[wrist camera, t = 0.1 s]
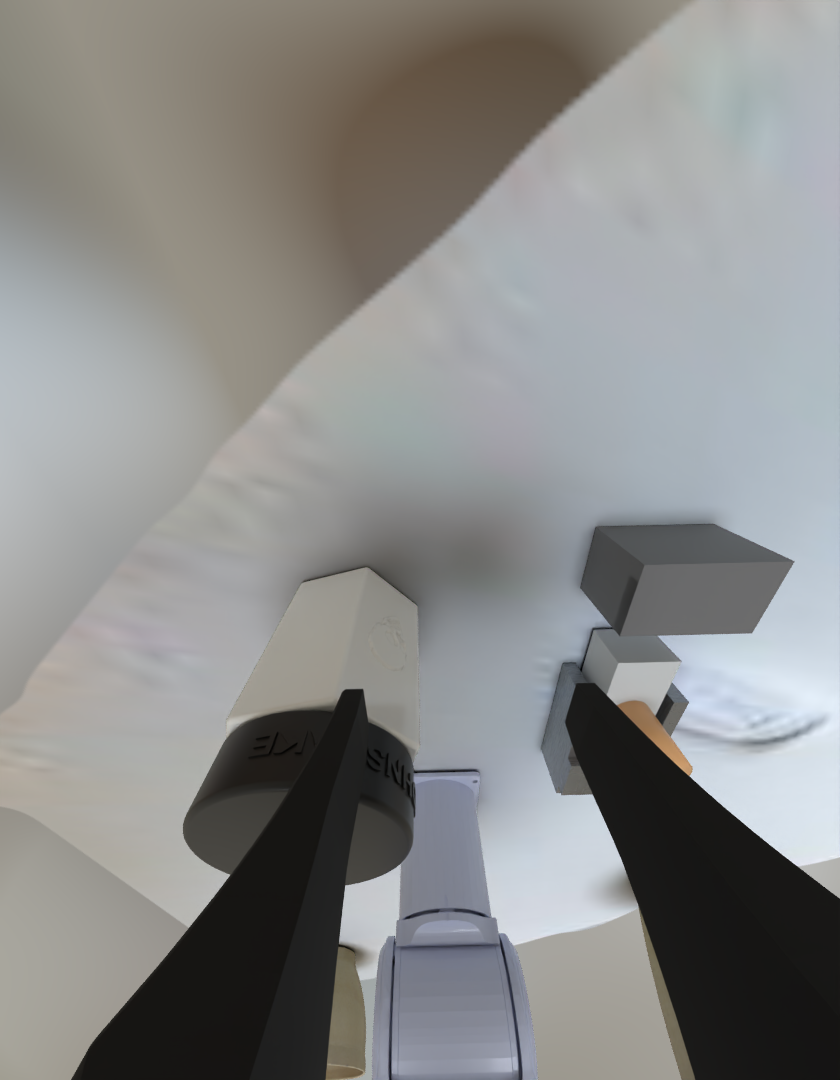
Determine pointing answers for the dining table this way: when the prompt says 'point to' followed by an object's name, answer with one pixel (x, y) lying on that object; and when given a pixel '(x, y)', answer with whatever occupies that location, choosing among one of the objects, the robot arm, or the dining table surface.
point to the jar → (321, 723)
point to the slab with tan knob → (635, 681)
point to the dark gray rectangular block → (680, 579)
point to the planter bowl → (346, 1022)
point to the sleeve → (558, 742)
